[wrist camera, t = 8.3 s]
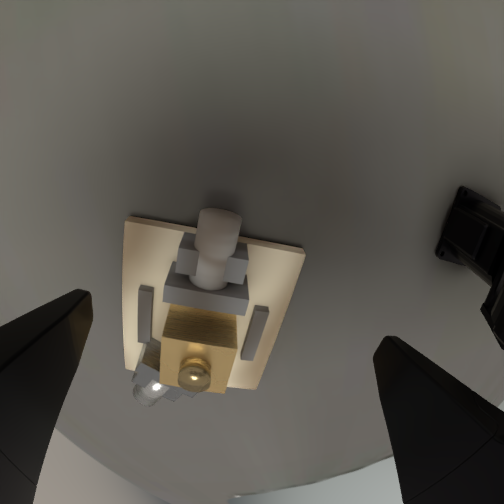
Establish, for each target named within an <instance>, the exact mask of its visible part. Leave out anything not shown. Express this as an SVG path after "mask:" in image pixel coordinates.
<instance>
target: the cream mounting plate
mask: <svg viewBox="0 0 504 504" xmlns="http://www.w3.org/2000/svg"><path fill="white" fill-rule="evenodd" d="M241 223H242V218H241V217H240V216H239V215H237V214H236V213H233V212H231V211H228V210H224V209H218V208H205V209H202V210H200V214H199V219H198V225H197V228H193V227H188V226H183V225H177V224H172V223H166V222H161V221H155V220H150V219H144V218H139V217H133V216H129V217H128V218H127V219H126V220H125V227H124V244H123V272H122V309H123V338H124V354H125V367H126V369H129V370H133V371H135V368H136V365H137V362H138V359H139V356H140V353H141V350H142V346H143V344H146V343H147V342H149V343H150V341H151V338H154V339H156V340H158V341H160V342H161V338H162V333H163V329H164V326H165V322H166V318H167V315H168V311H169V308H170V304H176V305H181V306H187V307H192V308H198V309H204V310H209V311H215V312H222V313H228V314H234V315H236V319H237V345H238V350H237V353H236V357H235V360H234V363H233V367H232V370H231V374H230V377H229V380H228V384H227V387H234V388H244V389H255V390H256V388H257V386H258V383H259V381H260V378H261V376H262V373H263V371H264V368H265V366H266V363H267V361H268V358H269V356H270V353H271V350H272V348H273V345H274V343H275V340H276V337H277V335H278V332H279V329H280V327H281V324H282V321H283V319H284V316H285V313H286V310H287V308H288V305H289V302H290V299H291V297H292V294H293V291H294V288H295V285H296V282H297V280H298V277H299V274H300V271H301V268H302V265H303V262H304V259H305V256H306V254H305V252H304V250H303V248H297V247H292V246H287V245H282V244H277V243H272V242H267V241H262V240H257V239H251V238H246V237H241V236H239V231H240V227H241Z"/></svg>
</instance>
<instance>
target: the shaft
mask: <svg viewBox="0 0 504 504" xmlns="http://www.w3.org/2000/svg"><path fill="white" fill-rule="evenodd" d="M160 356H161V342H160V341H158V340H156V339H154V338H151V341H150V343H149V342H147V343H146V344H143V346H142V350H141V353H140V356H139V359H138V362H137V365H136V368H135V372H134V375H133V379H132V382H133V383H135V384H136V385H135V386H134V388H133V395H134V397H135V399H136V400H137V401H138V402H139V403H140V404H142V405H144V406H153V405H155V404H156V403H157V402H158V401H159V400H160V399H161V398H162V397H164V398H167V399H169V400H171V401H173V402H174V401H176V400H177V399H178V398H179V397H180V396H181V395H182V394H184V395H187V396H189V397H191V398H193V397H194V396H195V395H196V394H197V393H198V392H190V391H187V390H184V389H183V388H181V387H176V386H170V385H165V384H160V383H159V380H160Z"/></svg>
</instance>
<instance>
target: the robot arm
mask: <svg viewBox="0 0 504 504" xmlns="http://www.w3.org/2000/svg"><path fill="white" fill-rule="evenodd" d="M463 193H464V194H463ZM441 252H442V253H441ZM440 253H441V254H440ZM436 256H437V257H438V258H439V259H442V260H445V261H449V262H453V263H456V264H460V265H463V266H467V267H468V268H469V269H471V270H472V271H473V272H474V273H475V274H477V275H478V276H479V277H480V278H481V279H482V280H484V281H485V282H486V283H487V284H488V285H489V286H490V287H491V288H490V291H489V293H488V295H487V298H486V300H485V302H484V303H483V304H482V306H481V309H480V310H481V312H482V314H483V315H484V317H485V319H486V321H487V323H488V324H489V326H490V328H491V330H492V332H493V334H494V336H495V338H496V339H497V341H498V343H499V345H500V347H501V348H502V349H503V350H504V212H502V211H501V208H500V207H499V206H498V205H496V204H495V203H493V202H491V201H490V200H488V199H486V198H485V197H483V196H481V195H479V194H478V193H476V192H474V191H472V190H470V189H469V188H467V187H464V186H462V187H460V189H459V191H458V194H457V197H456V200H455V203H454V206H453V209H452V212H451V214H450V217H449V220H448V223H447V225H446V228H445V230H444V233H443V235H442V238H441V240H440V243H439V245H438V248H437V250H436ZM92 321H93V308H92V297H91V293H90V292H89V291H86V290H82V289H76V290H73V291H71V292H69V293H67V294H65V295H63V296H61V297H59V298H57V299H55V300H53V301H51V302H48V303H46V304H44V305H42V306H40V307H38V308H36V309H34V310H32V311H30V312H28V313H26V314H24V315H22V316H20V317H18V318H16V319H14V320H13V321H11V322H9V323H7V324H5V325H3V326H1V327H0V504H33V500H34V496H35V492H36V488H37V486H36V485H37V483H38V479H39V475H40V472H41V468H42V465H43V461H44V458H45V454H46V451H47V448H48V445H49V442H50V439H51V436H52V433H53V430H54V427H55V424H56V421H57V419H58V416H59V413H60V410H61V408H62V405H63V402H64V400H65V397H66V395H67V392H68V390H69V387H70V385H71V382H72V380H73V377H74V375H75V373H76V370H77V368H78V365H79V362H80V359H81V356H82V352H83V349H84V346H85V343H86V340H87V337H88V334H89V331H90V328H91V325H92ZM373 363H374V368H375V374H376V379H377V385H378V391H379V397H380V401H381V405H382V409H383V413H384V417H385V421H386V425H387V429H388V433H389V437H390V441H391V446H392V450H393V454H394V459H395V464H396V469H397V473H398V478H399V483H400V489H401V494H402V500H403V503H404V504H504V412H503V411H502V410H500V409H499V408H497V407H496V406H494V405H493V404H491V403H490V402H488V401H487V400H485V399H484V398H482V397H481V396H480V395H478V394H477V393H475V392H474V391H472V390H471V389H470V388H469V387H467V386H466V385H464V384H463V383H462V382H460V381H459V380H457V379H456V378H455V377H453V376H452V375H451V374H449V373H448V372H446V371H445V370H444V369H442V368H441V367H439V366H438V365H437V364H435V363H434V362H432V361H431V360H430V359H428V358H427V357H425V356H424V355H423V354H421V353H420V352H418V351H417V350H415V349H414V348H413V347H411V346H410V345H408V344H407V343H406V342H404V341H403V340H401V339H400V338H398V337H397V336H385V337H384V338H383V340H382V341H381V343H380V345H379V347H378V348H377V350H376V351H375V353H374V356H373Z"/></svg>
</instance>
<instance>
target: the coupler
mask: <svg viewBox="0 0 504 504" xmlns="http://www.w3.org/2000/svg"><path fill="white" fill-rule="evenodd" d="M237 350H238V345H237V319H236V315H234V314H228V313H222V312H215V311H209V310H204V309H198V308H192V307H187V306H181V305H176V304H170V308H169V311H168V315H167V318H166V322H165V326H164V329H163V333H162V338H161V356H160V380H159V383H160V384H165V385H170V386H176V387H181V388H183V389H184V390H187V391H190V392H203V391H208V392H215V393H223V394H225V390H226V387H227V384H228V380H229V377H230V374H231V370H232V367H233V363H234V360H235V357H236V353H237Z"/></svg>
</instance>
